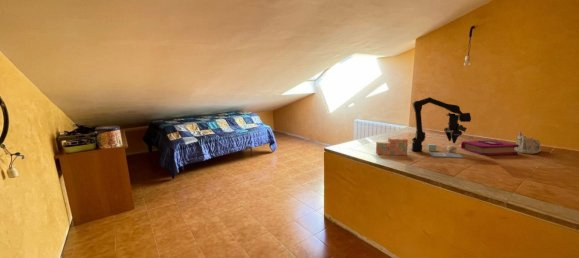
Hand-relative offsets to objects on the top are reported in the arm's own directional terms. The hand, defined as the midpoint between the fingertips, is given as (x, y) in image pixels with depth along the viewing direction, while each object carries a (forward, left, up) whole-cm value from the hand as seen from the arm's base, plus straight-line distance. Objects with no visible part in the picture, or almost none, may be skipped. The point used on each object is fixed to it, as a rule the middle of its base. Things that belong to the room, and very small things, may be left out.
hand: (451, 142), depth 185 cm
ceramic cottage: (+56, +14, -9) cm, 58 cm away
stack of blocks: (-44, -11, -9) cm, 46 cm away
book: (+28, +9, -9) cm, 31 cm away
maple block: (0, 0, -8) cm, 8 cm away
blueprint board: (-7, -10, -8) cm, 15 cm away
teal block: (-12, +6, -8) cm, 16 cm away
